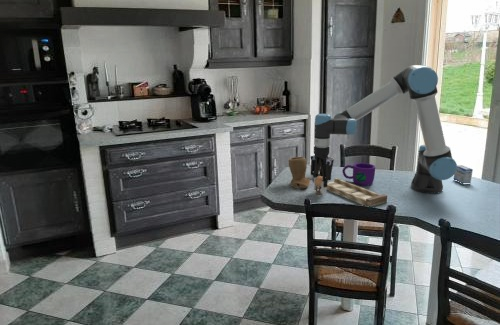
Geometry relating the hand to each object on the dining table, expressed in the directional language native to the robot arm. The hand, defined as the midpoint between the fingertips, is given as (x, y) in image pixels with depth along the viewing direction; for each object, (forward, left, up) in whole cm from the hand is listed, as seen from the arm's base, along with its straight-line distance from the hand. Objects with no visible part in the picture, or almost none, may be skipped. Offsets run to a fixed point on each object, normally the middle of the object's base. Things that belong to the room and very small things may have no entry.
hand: (319, 191), depth 196 cm
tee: (0, 0, -1) cm, 1 cm away
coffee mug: (+22, -24, -2) cm, 33 cm away
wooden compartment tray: (-9, -13, -1) cm, 16 cm away
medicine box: (-28, -77, -2) cm, 82 cm away
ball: (0, 0, +5) cm, 5 cm away
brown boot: (+16, +1, -2) cm, 16 cm away
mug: (+2, -29, -2) cm, 29 cm away
